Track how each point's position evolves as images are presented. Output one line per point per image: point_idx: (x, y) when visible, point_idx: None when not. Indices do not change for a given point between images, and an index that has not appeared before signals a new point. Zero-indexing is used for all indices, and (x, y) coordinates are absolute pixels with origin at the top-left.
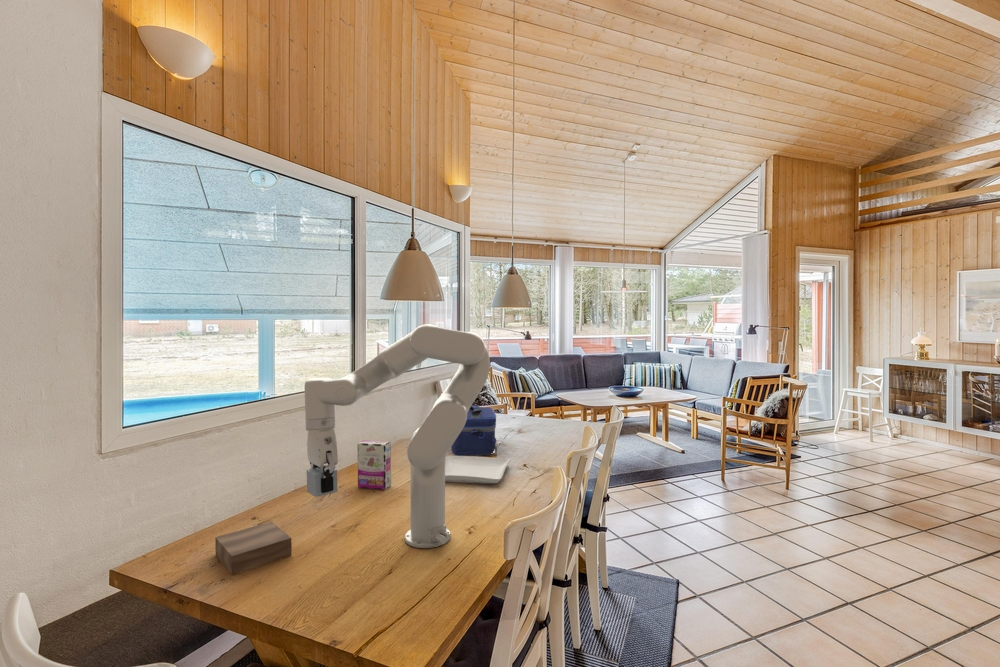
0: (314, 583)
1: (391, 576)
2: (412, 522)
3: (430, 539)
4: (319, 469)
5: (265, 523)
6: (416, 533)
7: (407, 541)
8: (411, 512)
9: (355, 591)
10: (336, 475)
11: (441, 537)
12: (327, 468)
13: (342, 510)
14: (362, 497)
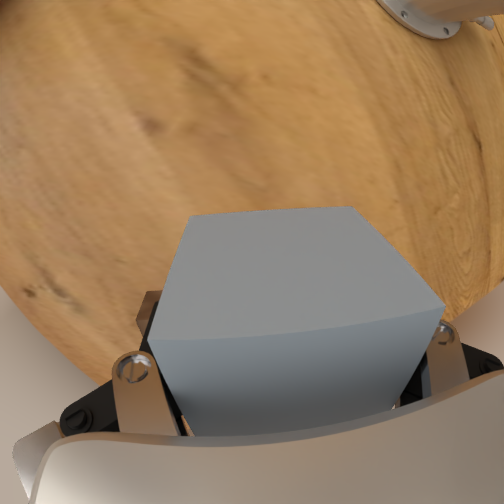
0: (419, 267)
1: (487, 152)
2: (451, 12)
3: (464, 20)
4: (269, 418)
5: (141, 333)
6: (447, 21)
7: (423, 34)
8: (465, 4)
9: (477, 222)
10: (412, 274)
11: (492, 24)
12: (302, 374)
13: (57, 79)
14: (18, 23)
